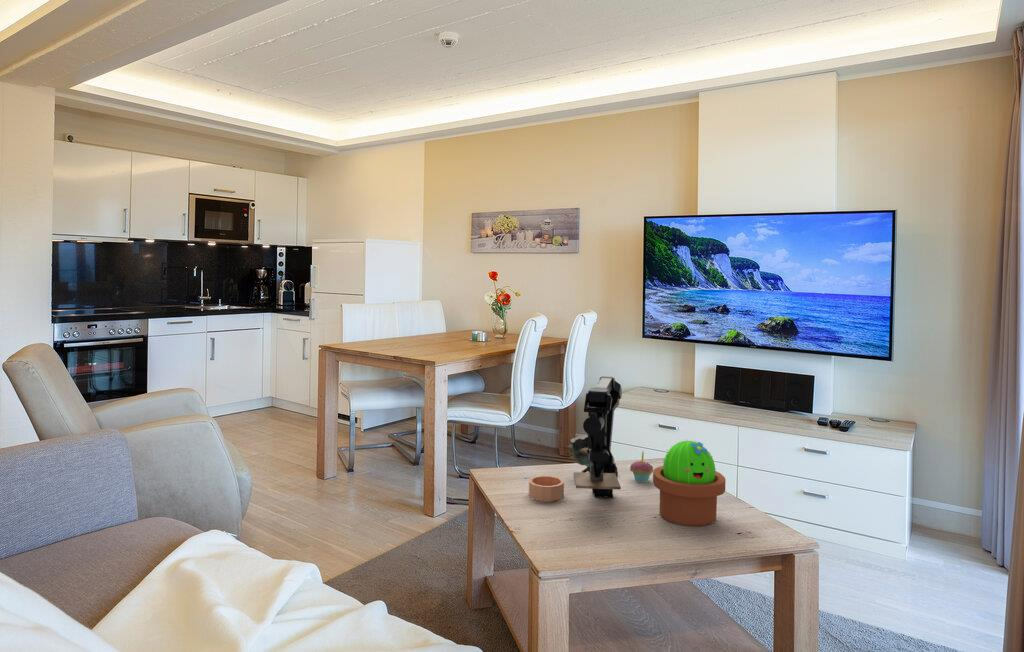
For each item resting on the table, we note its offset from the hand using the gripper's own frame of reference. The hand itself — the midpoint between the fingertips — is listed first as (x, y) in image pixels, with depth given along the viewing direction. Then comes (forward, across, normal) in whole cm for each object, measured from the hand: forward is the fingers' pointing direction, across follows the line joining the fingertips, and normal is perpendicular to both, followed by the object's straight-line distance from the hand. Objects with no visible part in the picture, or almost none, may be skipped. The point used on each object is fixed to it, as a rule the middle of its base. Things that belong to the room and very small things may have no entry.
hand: (596, 475), depth 204 cm
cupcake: (+12, -32, +20) cm, 40 cm away
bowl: (+12, -13, -16) cm, 24 cm away
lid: (+2, 0, 0) cm, 2 cm away
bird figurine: (+12, -37, +1) cm, 39 cm away
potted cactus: (+12, +3, +29) cm, 31 cm away
